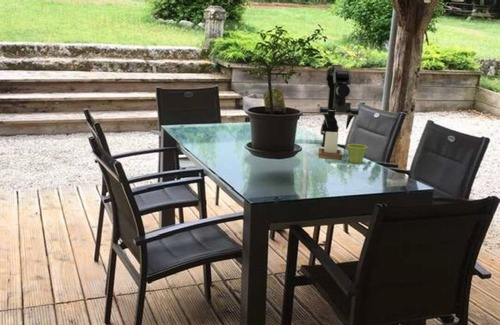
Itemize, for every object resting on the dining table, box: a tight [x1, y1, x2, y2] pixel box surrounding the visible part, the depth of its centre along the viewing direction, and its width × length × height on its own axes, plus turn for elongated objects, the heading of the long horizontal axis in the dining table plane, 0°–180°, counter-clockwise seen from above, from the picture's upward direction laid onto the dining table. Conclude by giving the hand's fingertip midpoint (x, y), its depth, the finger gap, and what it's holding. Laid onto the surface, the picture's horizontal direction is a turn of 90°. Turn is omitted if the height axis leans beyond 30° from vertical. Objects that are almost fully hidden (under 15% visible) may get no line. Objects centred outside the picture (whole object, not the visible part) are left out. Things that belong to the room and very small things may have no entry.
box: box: [317, 147, 343, 161], centre depth 272 cm, size 12×11×3 cm
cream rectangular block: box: [323, 131, 339, 153], centre depth 271 cm, size 3×6×12 cm, turn 84°
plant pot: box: [346, 143, 368, 165], centre depth 263 cm, size 9×9×9 cm
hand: (337, 128), depth 271 cm, fingers open, 9 cm apart
